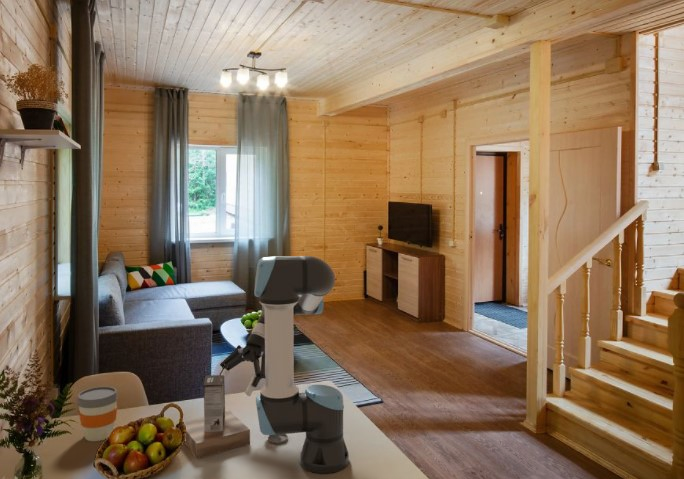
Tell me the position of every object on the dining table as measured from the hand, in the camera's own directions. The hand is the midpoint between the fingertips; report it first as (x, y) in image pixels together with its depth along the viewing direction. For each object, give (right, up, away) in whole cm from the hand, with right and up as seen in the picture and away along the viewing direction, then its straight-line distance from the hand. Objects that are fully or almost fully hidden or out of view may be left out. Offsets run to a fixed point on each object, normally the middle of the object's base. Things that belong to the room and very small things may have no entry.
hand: (232, 390), depth 188 cm
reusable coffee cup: (-45, -15, -3) cm, 48 cm away
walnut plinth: (-5, -15, -6) cm, 17 cm away
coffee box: (-4, -10, -7) cm, 13 cm away
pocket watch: (+16, -15, -5) cm, 23 cm away
